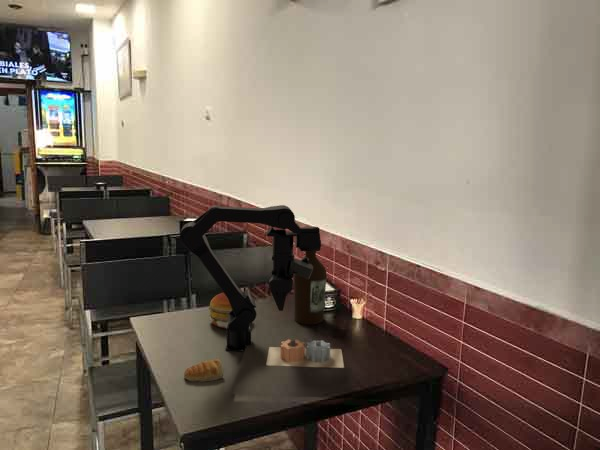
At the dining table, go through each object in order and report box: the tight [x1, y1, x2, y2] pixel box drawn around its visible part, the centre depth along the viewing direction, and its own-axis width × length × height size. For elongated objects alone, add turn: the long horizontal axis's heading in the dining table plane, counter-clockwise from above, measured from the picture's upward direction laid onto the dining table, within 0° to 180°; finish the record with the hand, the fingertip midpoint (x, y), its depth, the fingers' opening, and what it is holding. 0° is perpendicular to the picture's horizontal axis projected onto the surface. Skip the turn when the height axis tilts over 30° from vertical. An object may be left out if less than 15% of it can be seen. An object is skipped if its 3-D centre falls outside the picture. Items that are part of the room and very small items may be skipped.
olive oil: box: [293, 251, 328, 326], centre depth 161 cm, size 11×11×25 cm
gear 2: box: [305, 340, 331, 363], centre depth 133 cm, size 6×6×4 cm
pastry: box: [183, 358, 224, 383], centre depth 124 cm, size 9×7×4 cm
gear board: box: [266, 339, 345, 369], centre depth 133 cm, size 20×11×6 cm, turn 89°
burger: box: [208, 292, 232, 330], centre depth 157 cm, size 14×14×10 cm
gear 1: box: [280, 339, 306, 362], centre depth 133 cm, size 6×6×4 cm
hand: (281, 304), depth 141 cm, fingers open, 9 cm apart
